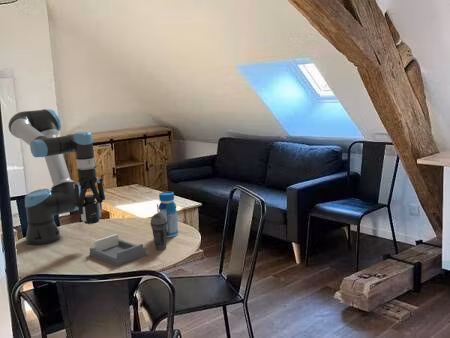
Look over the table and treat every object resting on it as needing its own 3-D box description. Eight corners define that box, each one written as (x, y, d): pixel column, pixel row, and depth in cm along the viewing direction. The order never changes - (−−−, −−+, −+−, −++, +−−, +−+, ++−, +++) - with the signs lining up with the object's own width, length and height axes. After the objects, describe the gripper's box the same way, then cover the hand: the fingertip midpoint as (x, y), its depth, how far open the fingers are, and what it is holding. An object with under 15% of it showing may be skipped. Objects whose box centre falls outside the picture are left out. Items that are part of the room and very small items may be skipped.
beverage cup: (168, 244, 214) (165, 200, 210) (170, 250, 207) (166, 204, 203) (152, 246, 213) (148, 202, 209) (153, 252, 206) (149, 206, 202)
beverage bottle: (177, 237, 223) (174, 195, 219) (159, 238, 223) (155, 195, 219) (179, 231, 231) (176, 190, 227) (162, 232, 232) (158, 191, 228)
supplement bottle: (95, 224, 211) (92, 198, 209) (81, 224, 213) (78, 197, 210) (102, 219, 218) (99, 193, 215) (88, 219, 219) (85, 193, 217)
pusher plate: (94, 251, 207) (93, 241, 206) (117, 244, 215) (116, 233, 214) (96, 252, 206) (95, 241, 205) (119, 244, 214) (118, 234, 213)
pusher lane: (89, 255, 207) (88, 243, 206) (119, 244, 217) (118, 234, 216) (116, 266, 193) (115, 254, 192) (146, 254, 203) (145, 243, 202)
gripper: (69, 173, 201) (75, 226, 206) (110, 164, 215) (115, 214, 219) (60, 170, 206) (66, 222, 211) (101, 162, 220) (106, 211, 225)
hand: (91, 218), depth 215 cm, fingers closed on supplement bottle, 7 cm apart
